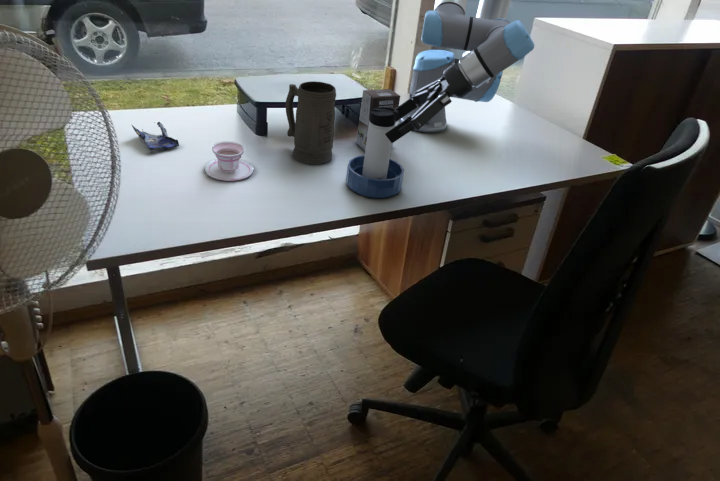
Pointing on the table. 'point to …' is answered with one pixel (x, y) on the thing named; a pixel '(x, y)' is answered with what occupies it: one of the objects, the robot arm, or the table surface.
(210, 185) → the table surface
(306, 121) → the beer stein
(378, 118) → the travel mug
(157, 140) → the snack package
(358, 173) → the bowl
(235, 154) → the teacup
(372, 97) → the cookie box
